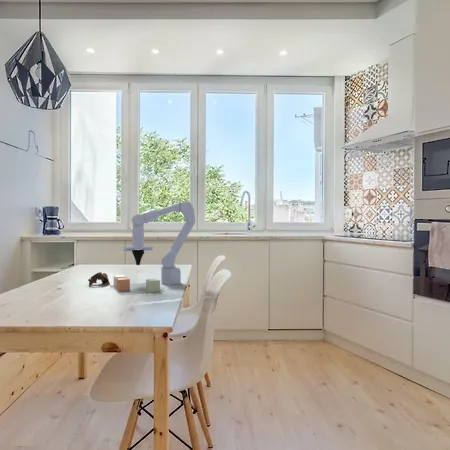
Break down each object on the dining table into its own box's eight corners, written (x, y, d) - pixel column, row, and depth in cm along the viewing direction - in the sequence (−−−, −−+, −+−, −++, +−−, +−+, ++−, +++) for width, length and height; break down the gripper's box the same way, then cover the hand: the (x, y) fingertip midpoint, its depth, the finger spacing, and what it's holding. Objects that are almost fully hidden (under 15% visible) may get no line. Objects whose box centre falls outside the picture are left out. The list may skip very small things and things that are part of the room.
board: (147, 284, 193) (147, 282, 193) (164, 293, 170) (164, 291, 170) (109, 287, 184) (109, 285, 184) (121, 297, 161) (121, 295, 161)
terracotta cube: (127, 288, 178) (127, 277, 178) (129, 289, 173) (129, 279, 173) (116, 289, 175) (116, 278, 175) (118, 290, 171) (118, 279, 171)
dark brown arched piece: (108, 289, 182) (99, 275, 181) (92, 297, 184) (83, 283, 182) (116, 279, 194) (107, 266, 192) (100, 286, 195) (92, 273, 194)
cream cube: (124, 285, 186) (124, 274, 186) (126, 286, 182) (126, 276, 181) (113, 285, 184) (113, 275, 184) (115, 287, 179) (115, 277, 179)
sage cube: (156, 289, 175) (156, 278, 175) (159, 291, 171) (160, 280, 171) (146, 290, 173) (146, 279, 173) (149, 292, 168) (149, 281, 168)
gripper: (125, 238, 183) (125, 266, 184) (154, 238, 190) (154, 265, 190) (122, 238, 190) (122, 264, 190) (150, 237, 196) (150, 263, 197)
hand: (138, 264), depth 191 cm, fingers closed
